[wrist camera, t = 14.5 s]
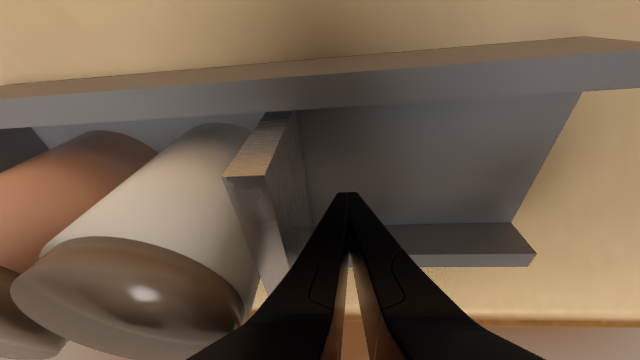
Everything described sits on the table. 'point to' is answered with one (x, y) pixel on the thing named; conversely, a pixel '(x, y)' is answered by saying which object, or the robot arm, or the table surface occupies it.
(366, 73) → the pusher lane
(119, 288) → the cream jar
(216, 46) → the table surface
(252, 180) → the plate
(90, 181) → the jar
